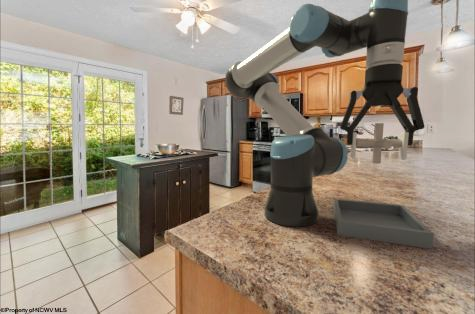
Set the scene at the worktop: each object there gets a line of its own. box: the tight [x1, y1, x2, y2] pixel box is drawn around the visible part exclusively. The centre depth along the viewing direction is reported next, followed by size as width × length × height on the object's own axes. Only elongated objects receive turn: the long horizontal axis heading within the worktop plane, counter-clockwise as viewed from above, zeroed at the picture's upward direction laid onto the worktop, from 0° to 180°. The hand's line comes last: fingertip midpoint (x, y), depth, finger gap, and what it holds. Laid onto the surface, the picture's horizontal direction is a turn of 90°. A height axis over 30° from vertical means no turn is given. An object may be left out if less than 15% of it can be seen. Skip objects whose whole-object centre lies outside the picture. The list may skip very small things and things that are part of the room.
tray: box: [333, 198, 434, 250], centre depth 56 cm, size 18×18×3 cm
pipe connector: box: [356, 122, 402, 165], centre depth 54 cm, size 10×10×10 cm
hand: (376, 158), depth 55 cm, fingers closed on pipe connector, 10 cm apart
